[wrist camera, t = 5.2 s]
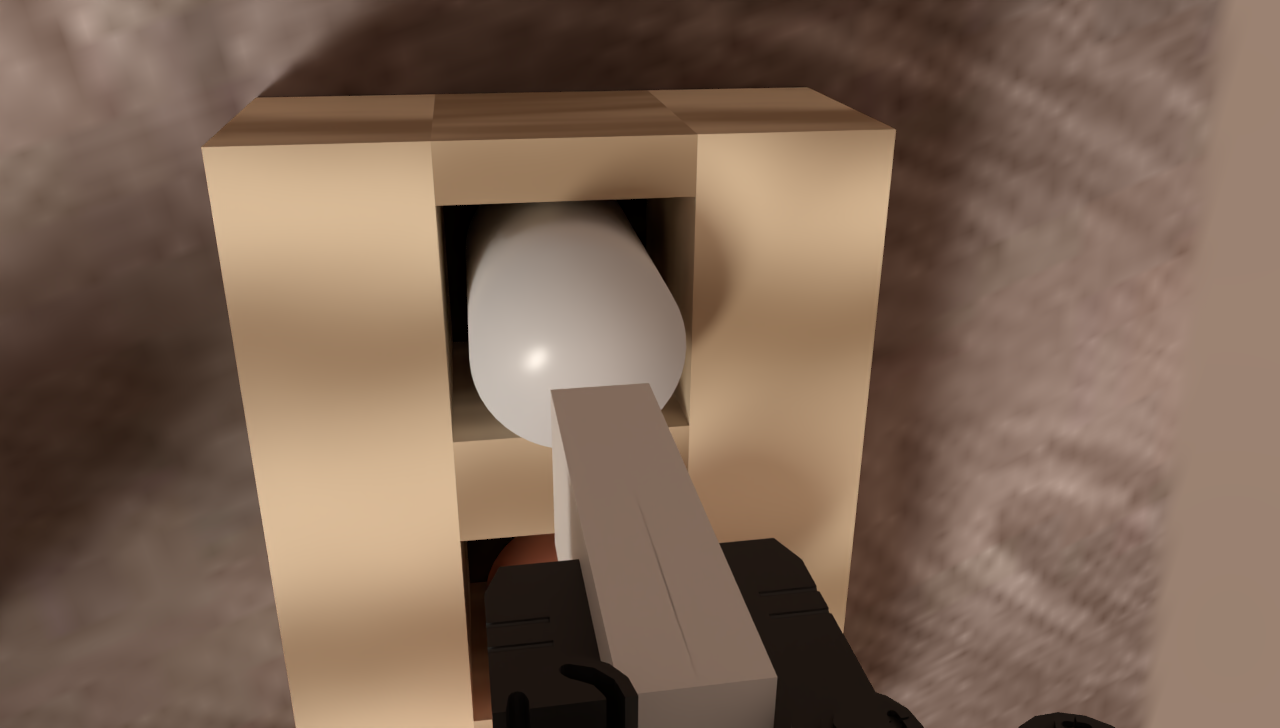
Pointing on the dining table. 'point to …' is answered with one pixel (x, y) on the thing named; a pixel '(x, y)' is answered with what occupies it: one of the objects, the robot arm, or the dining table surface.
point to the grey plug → (564, 309)
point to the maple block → (440, 369)
